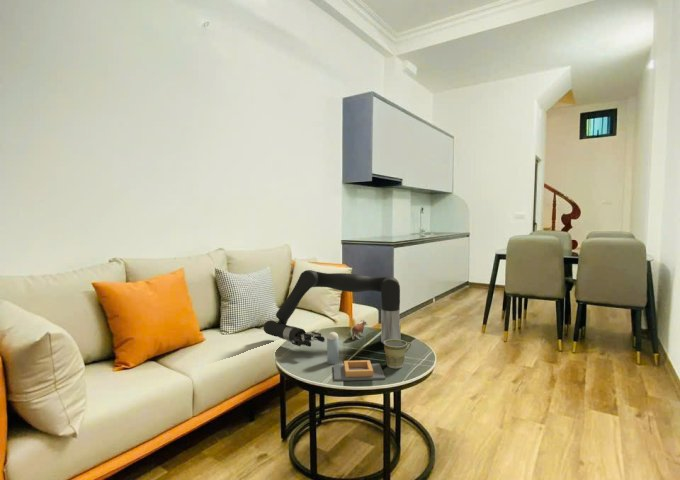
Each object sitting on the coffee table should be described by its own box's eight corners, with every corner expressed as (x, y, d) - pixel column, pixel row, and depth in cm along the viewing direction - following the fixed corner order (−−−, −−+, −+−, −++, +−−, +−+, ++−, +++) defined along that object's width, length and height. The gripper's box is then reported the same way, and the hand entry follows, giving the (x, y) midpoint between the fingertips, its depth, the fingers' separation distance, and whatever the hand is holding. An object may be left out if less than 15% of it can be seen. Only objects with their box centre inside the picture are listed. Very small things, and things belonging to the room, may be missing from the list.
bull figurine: (368, 334, 203) (368, 319, 203) (356, 341, 192) (356, 325, 192) (361, 333, 206) (361, 318, 205) (349, 339, 194) (349, 324, 194)
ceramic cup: (391, 371, 153) (391, 348, 153) (379, 363, 163) (379, 340, 162) (417, 366, 159) (417, 343, 158) (404, 358, 168) (404, 336, 167)
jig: (379, 365, 160) (379, 358, 160) (385, 379, 146) (385, 372, 146) (333, 366, 159) (333, 359, 159) (334, 380, 145) (334, 373, 145)
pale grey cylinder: (338, 359, 167) (338, 330, 166) (338, 364, 162) (338, 333, 161) (327, 360, 167) (327, 330, 166) (327, 364, 162) (327, 334, 161)
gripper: (282, 330, 176) (305, 337, 165) (305, 324, 186) (328, 330, 176) (283, 346, 176) (306, 354, 166) (305, 338, 187) (328, 345, 176)
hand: (317, 341), depth 171 cm, fingers open, 8 cm apart
